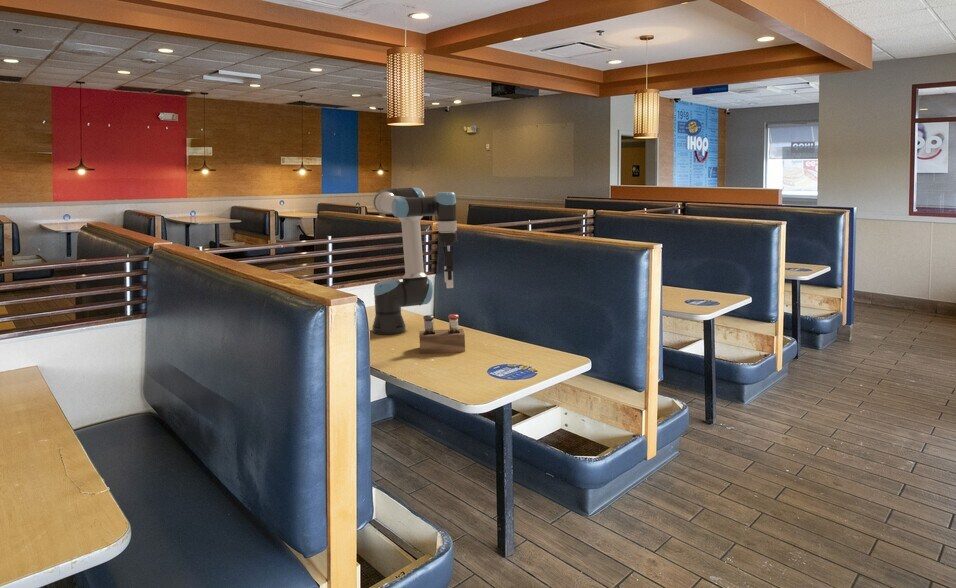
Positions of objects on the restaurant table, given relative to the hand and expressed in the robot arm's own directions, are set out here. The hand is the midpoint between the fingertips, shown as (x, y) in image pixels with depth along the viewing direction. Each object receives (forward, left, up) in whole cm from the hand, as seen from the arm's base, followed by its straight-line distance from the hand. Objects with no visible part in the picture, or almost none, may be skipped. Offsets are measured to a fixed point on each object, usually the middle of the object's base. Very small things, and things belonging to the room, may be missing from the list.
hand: (449, 285), depth 260 cm
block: (-1, -4, -27) cm, 27 cm away
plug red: (-1, +1, -20) cm, 20 cm away
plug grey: (-1, -9, -20) cm, 22 cm away
